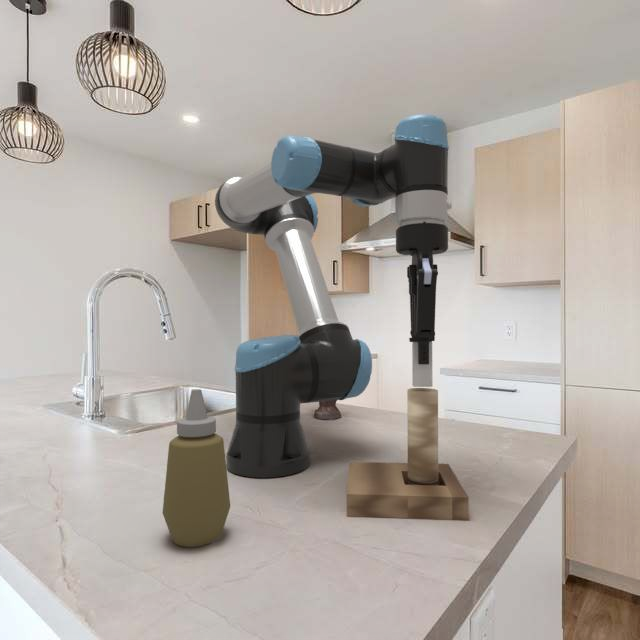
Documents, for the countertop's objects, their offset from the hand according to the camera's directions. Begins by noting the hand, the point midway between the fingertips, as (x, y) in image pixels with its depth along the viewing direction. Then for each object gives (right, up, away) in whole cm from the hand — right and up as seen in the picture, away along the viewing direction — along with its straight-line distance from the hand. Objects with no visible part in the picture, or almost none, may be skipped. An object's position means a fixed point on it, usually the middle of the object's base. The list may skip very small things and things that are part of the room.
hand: (422, 385), depth 68 cm
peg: (0, -17, 0) cm, 17 cm away
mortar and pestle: (-14, -17, +58) cm, 62 cm away
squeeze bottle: (-30, -17, -12) cm, 36 cm away
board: (-3, -17, 0) cm, 17 cm away
